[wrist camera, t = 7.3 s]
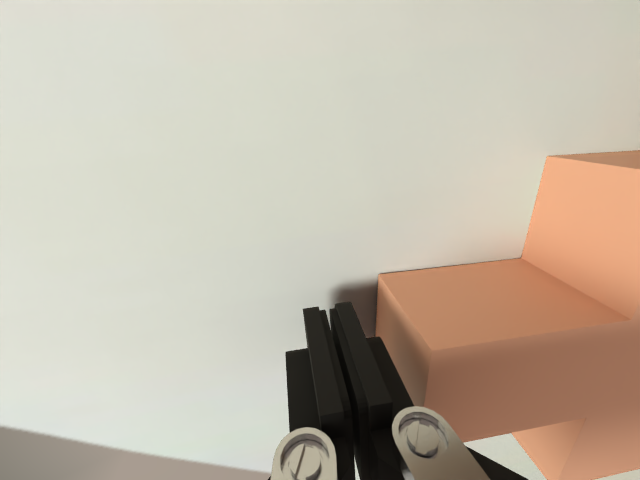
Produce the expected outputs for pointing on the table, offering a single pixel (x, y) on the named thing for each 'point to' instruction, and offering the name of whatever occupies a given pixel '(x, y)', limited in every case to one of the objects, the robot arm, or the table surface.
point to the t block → (537, 327)
